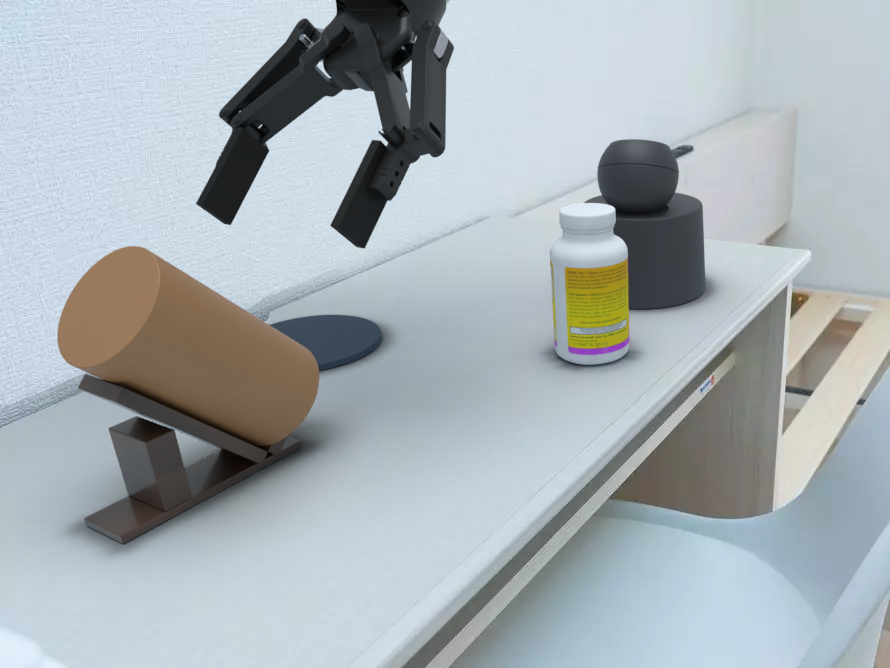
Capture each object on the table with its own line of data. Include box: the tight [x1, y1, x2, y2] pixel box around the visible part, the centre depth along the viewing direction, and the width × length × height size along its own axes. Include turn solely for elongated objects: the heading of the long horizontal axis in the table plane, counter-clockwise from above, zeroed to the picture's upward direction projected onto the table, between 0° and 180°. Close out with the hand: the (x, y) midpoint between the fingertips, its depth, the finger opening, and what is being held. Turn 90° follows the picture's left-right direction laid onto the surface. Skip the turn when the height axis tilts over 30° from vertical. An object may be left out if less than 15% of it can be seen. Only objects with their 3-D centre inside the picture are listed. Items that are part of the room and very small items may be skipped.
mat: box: [269, 314, 383, 371], centre depth 83 cm, size 13×13×1 cm
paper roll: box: [56, 245, 320, 447], centre depth 58 cm, size 8×16×16 cm, turn 148°
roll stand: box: [77, 373, 303, 545], centre depth 59 cm, size 4×14×9 cm, turn 148°
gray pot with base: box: [583, 138, 707, 310], centre depth 92 cm, size 13×16×14 cm
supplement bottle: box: [549, 202, 630, 366], centre depth 77 cm, size 7×7×13 cm
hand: (276, 226), depth 61 cm, fingers open, 13 cm apart
